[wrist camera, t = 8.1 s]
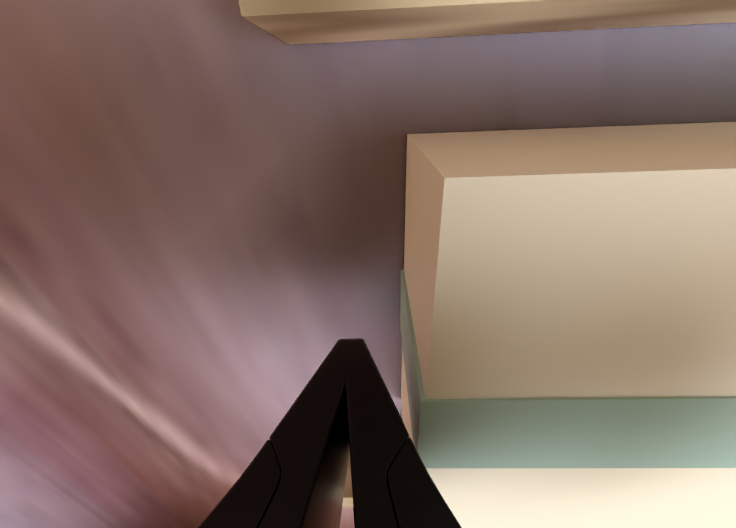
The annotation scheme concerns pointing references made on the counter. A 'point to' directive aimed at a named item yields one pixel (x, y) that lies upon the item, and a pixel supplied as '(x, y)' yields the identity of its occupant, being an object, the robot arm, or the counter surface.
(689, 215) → the carton
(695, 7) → the tan tray
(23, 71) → the counter surface
